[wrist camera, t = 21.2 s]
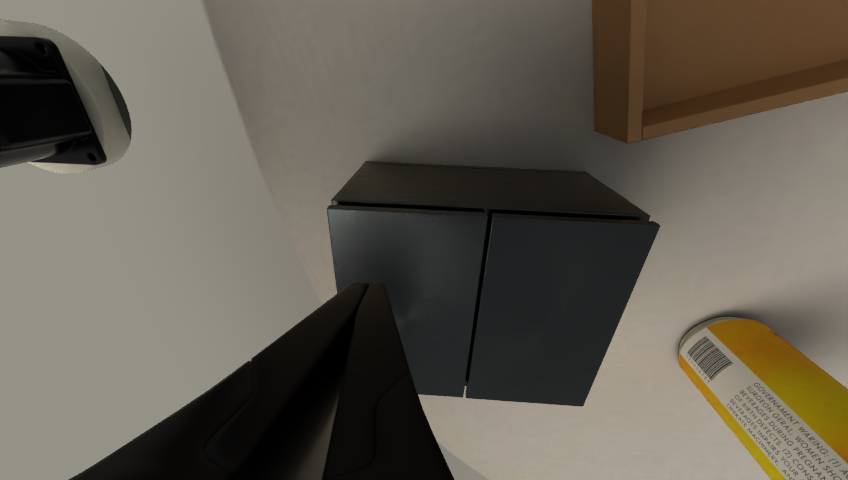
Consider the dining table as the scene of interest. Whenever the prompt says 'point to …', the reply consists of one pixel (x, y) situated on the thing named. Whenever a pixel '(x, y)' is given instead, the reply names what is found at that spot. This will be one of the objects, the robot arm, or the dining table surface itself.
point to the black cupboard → (530, 268)
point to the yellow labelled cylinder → (770, 398)
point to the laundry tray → (711, 61)
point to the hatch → (418, 281)
